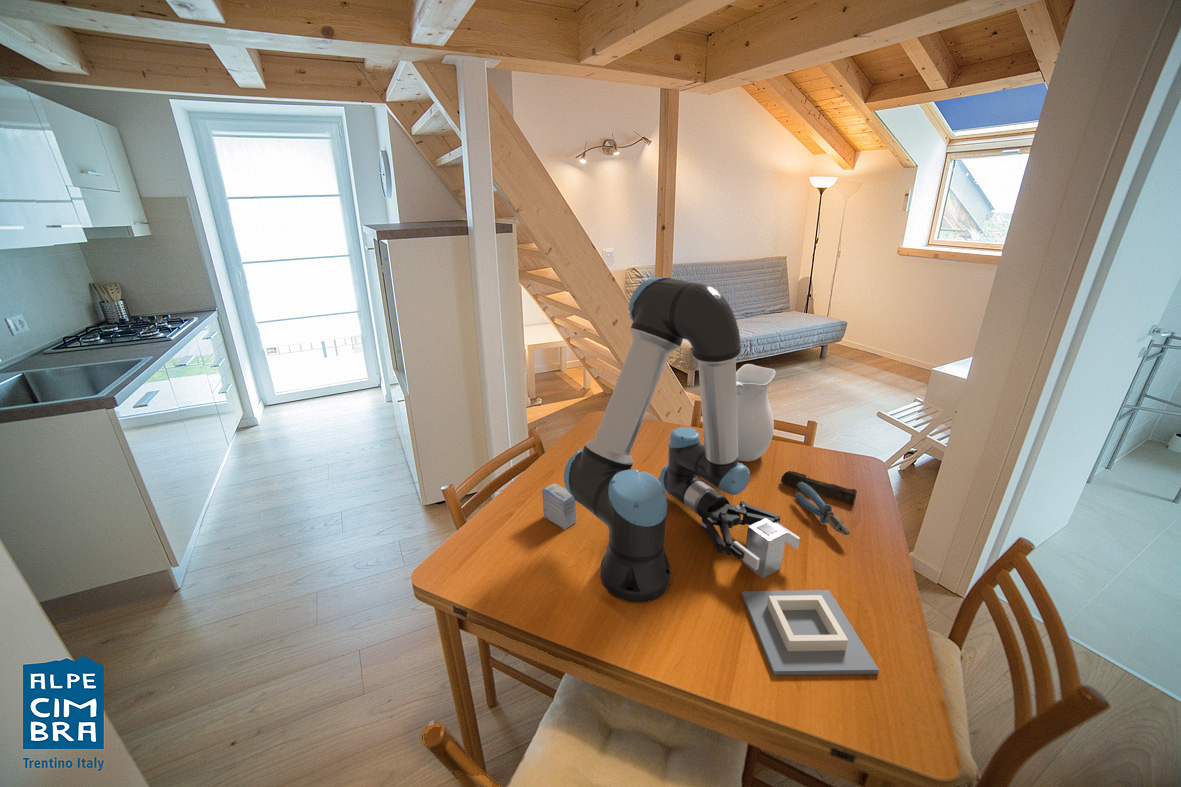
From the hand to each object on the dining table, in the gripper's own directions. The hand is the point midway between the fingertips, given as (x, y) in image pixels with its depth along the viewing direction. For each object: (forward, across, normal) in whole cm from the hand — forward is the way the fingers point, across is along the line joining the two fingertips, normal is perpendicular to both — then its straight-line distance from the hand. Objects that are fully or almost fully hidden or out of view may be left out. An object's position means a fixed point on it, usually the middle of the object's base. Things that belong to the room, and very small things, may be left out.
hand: (778, 553), depth 101 cm
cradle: (+12, +7, -6) cm, 15 cm away
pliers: (-8, -26, -6) cm, 28 cm away
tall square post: (-4, 0, -6) cm, 7 cm away
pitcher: (-42, -32, -6) cm, 53 cm away
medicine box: (-42, +31, -6) cm, 52 cm away
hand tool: (-15, -36, -6) cm, 39 cm away
